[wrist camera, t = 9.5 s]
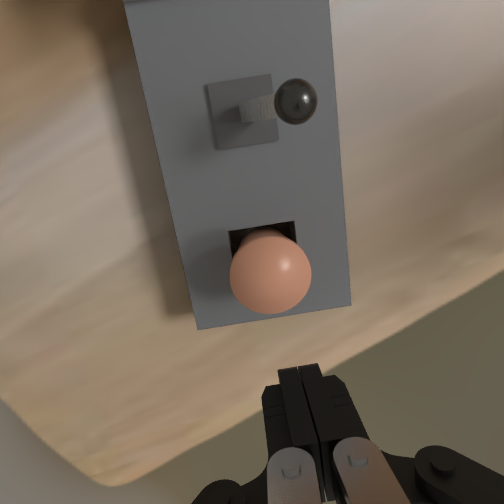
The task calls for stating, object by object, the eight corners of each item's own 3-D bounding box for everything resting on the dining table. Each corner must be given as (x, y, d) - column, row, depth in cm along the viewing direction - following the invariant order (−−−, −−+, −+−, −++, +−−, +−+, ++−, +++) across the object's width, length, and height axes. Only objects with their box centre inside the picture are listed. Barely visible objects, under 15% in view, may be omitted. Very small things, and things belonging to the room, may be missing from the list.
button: (294, 214, 28) (307, 231, 23) (302, 278, 29) (315, 307, 25) (224, 225, 28) (223, 245, 23) (236, 289, 29) (236, 319, 25)
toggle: (261, 90, 24) (324, 72, 18) (266, 127, 24) (328, 120, 19) (229, 94, 23) (286, 76, 17) (235, 132, 24) (292, 126, 18)
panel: (302, -170, 22) (316, -224, 19) (340, 289, 32) (354, 309, 29) (101, -138, 22) (77, -186, 19) (200, 311, 32) (196, 335, 29)
